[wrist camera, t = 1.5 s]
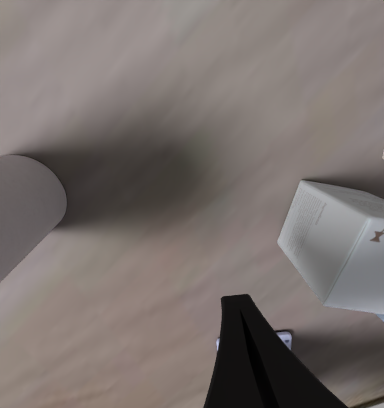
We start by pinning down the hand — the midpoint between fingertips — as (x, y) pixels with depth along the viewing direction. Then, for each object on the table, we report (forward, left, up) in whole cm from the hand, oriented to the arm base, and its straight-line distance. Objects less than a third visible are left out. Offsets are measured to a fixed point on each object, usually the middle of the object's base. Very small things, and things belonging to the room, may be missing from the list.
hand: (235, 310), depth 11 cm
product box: (0, -9, -9) cm, 13 cm away
